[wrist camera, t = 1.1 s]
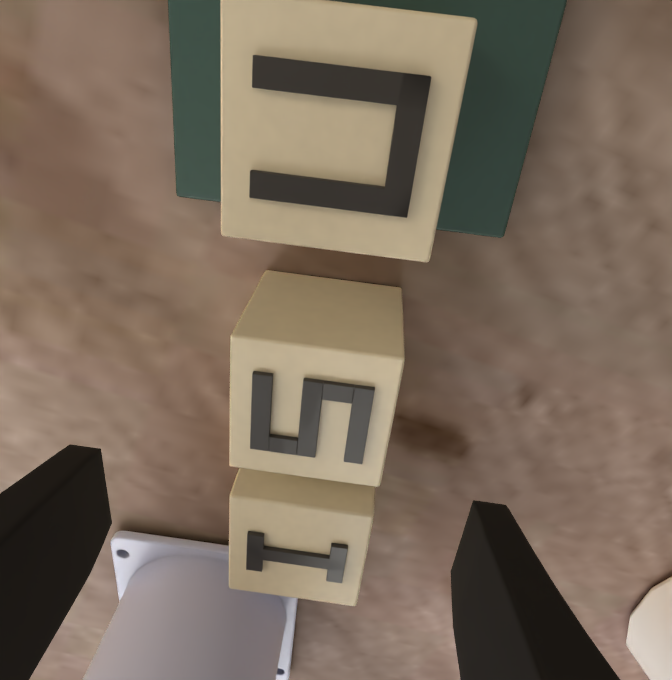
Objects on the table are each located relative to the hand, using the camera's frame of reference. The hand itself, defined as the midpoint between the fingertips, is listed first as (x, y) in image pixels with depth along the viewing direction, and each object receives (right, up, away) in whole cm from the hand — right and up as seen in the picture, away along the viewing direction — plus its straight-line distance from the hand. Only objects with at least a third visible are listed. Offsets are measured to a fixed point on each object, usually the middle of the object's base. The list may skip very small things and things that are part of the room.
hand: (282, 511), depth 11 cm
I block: (0, -1, +10) cm, 10 cm away
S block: (+1, +3, +7) cm, 8 cm away
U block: (+1, +9, +3) cm, 9 cm away
